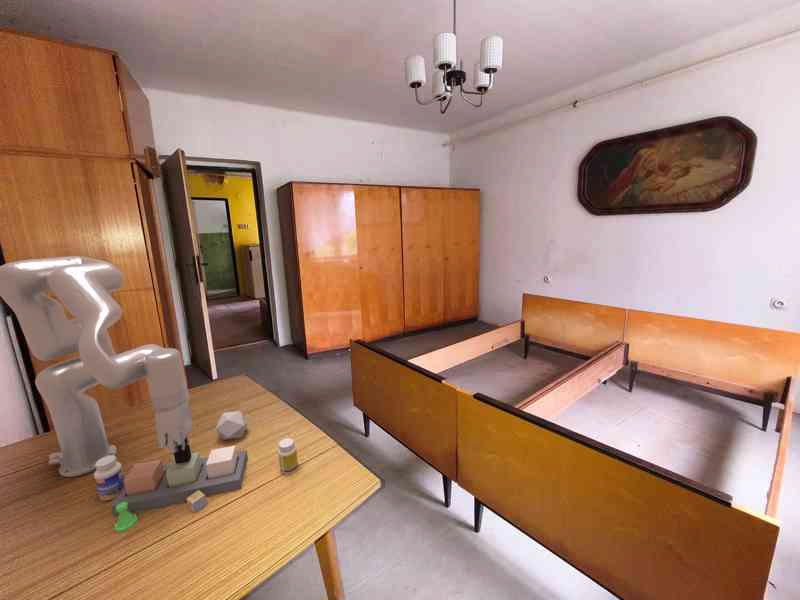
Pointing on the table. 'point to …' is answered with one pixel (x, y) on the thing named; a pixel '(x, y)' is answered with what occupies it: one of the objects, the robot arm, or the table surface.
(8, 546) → the table surface
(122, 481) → the pill bottle
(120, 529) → the game piece
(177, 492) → the board
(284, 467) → the supplement bottle
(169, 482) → the green block
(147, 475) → the terracotta block
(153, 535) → the table surface
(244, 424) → the die
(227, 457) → the cream block
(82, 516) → the table surface
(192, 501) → the alphabet block
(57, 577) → the table surface
